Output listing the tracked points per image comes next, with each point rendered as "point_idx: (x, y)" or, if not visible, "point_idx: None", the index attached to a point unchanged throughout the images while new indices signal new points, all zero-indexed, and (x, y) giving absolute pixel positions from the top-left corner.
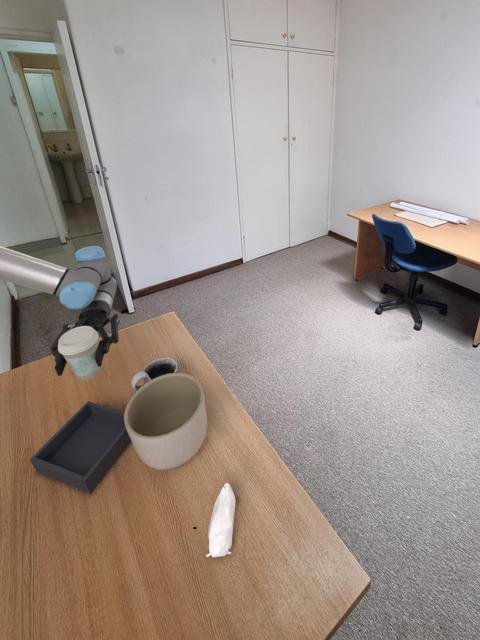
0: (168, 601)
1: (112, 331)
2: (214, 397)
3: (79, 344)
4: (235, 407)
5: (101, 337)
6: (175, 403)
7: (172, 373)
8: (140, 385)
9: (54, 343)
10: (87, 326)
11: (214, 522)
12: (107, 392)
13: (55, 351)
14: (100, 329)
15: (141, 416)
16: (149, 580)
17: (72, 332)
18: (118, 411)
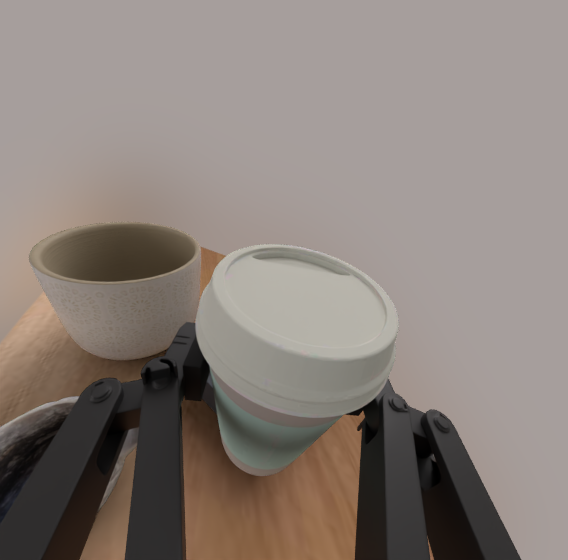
0: (206, 256)
1: (84, 445)
2: (3, 383)
3: (276, 245)
4: (2, 342)
5: (184, 523)
6: (98, 349)
7: (58, 276)
8: (133, 446)
9: (467, 466)
10: (257, 331)
11: None
12: (232, 555)
13: (410, 409)
14: (163, 545)
15: (173, 321)
16: (215, 265)
17: (350, 327)
18: (209, 381)
